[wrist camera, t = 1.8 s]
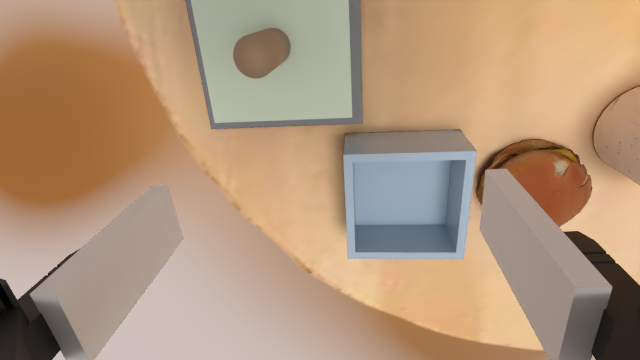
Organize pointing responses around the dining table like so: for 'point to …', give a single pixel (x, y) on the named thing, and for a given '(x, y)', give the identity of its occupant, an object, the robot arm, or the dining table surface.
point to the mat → (356, 119)
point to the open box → (408, 194)
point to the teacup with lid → (621, 135)
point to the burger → (546, 177)
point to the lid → (275, 58)
